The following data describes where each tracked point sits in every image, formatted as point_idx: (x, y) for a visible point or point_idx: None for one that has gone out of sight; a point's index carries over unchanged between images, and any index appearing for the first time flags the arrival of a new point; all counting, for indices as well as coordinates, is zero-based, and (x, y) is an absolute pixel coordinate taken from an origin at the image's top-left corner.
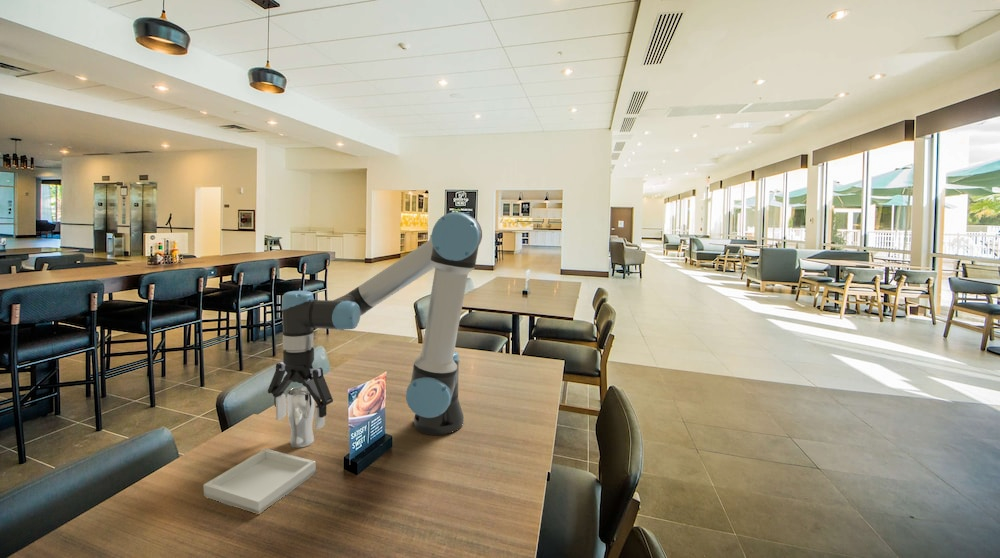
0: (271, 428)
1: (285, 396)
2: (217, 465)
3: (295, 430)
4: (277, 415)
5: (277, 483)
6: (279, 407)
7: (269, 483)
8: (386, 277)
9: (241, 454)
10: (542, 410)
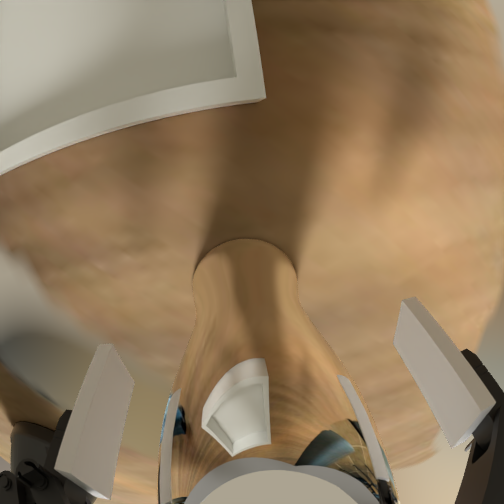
0: (436, 280)
1: (446, 437)
2: (394, 3)
3: (231, 294)
4: (421, 317)
5: (21, 36)
6: (439, 362)
7: (46, 14)
8: None
9: (395, 89)
10: None
